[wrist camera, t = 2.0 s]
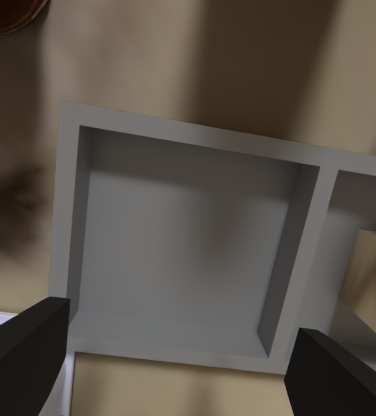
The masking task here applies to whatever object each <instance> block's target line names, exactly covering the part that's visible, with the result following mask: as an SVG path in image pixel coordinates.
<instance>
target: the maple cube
mask: <svg viewBox="0 0 376 416" xmlns="http://www.w3.org/2000/svg"><path fill="white" fill-rule="evenodd" d="M338 298H339V299H340V300H341V301H342V302H343V303H344V304H346V305H347V306H348V307H349V308H350V309H351V310H352V311H353V312H354V313H355V314H356V315H357V316H358V317H359V318H360V319H361V320H362V321H363V322H365V323H366V324H367V325H368V326H369V327H370V328H371V329H372V330H373V331H374V332H375V333H376V232H375V231H368V230H362V229H359V231H358V235H357V238H356V241H355V244H354V247H353V250H352V254H351V257H350V260H349V263H348V266H347V269H346V273H345V276H344V279H343V282H342V285H341V288H340V292H339V295H338Z"/></svg>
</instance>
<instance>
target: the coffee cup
mask: <svg viewBox="0 0 376 416" xmlns="http://www.w3.org/2000/svg"><path fill="white" fill-rule="evenodd" d="M46 2H47V0H0V34H6V33H10V32H13V31H15V30H17V29H20V28H22V27H23V26H25V25H26V24H28V23H29V22H30V21H32V20H33V19H34V18H35V16H36V15H37V14H38V12H39V11H40V10H41V8H42V7H43V6H44V5H45V4H46Z"/></svg>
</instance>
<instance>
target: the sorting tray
mask: <svg viewBox="0 0 376 416" xmlns="http://www.w3.org/2000/svg"><path fill="white" fill-rule="evenodd" d="M359 229H362V230H368V231H375V232H376V156H372V155H367V154H361V153H355V152H350V151H344V150H339V149H333V148H327V147H322V146H316V145H310V144H305V143H299V142H294V141H288V140H282V139H277V138H271V137H265V136H260V135H254V134H249V133H243V132H237V131H232V130H226V129H220V128H215V127H209V126H204V125H198V124H192V123H187V122H181V121H175V120H170V119H164V118H158V117H153V116H147V115H142V114H136V113H130V112H125V111H119V110H113V109H108V108H102V107H97V106H91V105H85V104H80V103H74V102H68V101H63V100H60V108H59V125H58V141H57V157H56V173H55V190H54V206H53V222H52V238H51V255H50V271H49V287H48V297H50V296H52V297H60V298H68V299H71V301H70V313H69V326H68V338H67V351H76V352H85V353H94V354H103V355H112V356H121V357H130V358H139V359H148V360H157V361H166V362H175V363H184V364H193V365H202V366H211V367H220V368H229V369H238V370H247V371H256V372H265V373H274V374H283V375H286V371H287V368H288V364H289V361H290V358H291V354H292V351H293V347H294V344H295V340H296V337H297V333H298V330H299V327H300V328H308V329H316V330H319V331H320V332H322V333H324V334H325V335H327V336H328V337H330V338H331V339H333V340H334V341H335V342H337V343H338V344H340V345H341V346H342V347H344V348H345V349H346V350H348V351H349V352H351V353H352V354H353V355H355V356H356V357H357V358H359V359H360V360H361V361H363V362H364V363H365V364H367V365H368V366H369V367H371V368H372V369H373V370H375V371H376V333H375V332H374V331H373V330H372V329H371V328H370V327H369V326H368V325H367V324H366V323H365V322H363V321H362V320H361V319H360V318H359V317H358V316H357V315H356V314H355V313H354V312H353V311H352V310H351V309H350V308H349V307H348V306H347V305H346V304H344V303H343V302H342V301H341V300H340V299H339V298H338V295H339V292H340V288H341V285H342V282H343V279H344V276H345V273H346V269H347V266H348V263H349V260H350V257H351V254H352V250H353V247H354V244H355V241H356V238H357V235H358V231H359Z"/></svg>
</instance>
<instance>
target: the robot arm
mask: <svg viewBox="0 0 376 416" xmlns="http://www.w3.org/2000/svg"><path fill="white" fill-rule="evenodd" d="M70 301H71V299H68V298H60V297H52V296H50V297H48V298H46V299H44V300H42V301H40V302H39V303H37V304H35V305H33V306H32V307H30V308H28V309H26V310H25V311H23V312H21V313H20V314H16V313H7V312H0V416H70V407H71V396H72V384H73V373H74V362H75V351H67V338H68V326H69V313H70ZM284 383H285V386H286V390H287V394H288V397H289V401H290V404H291V407H292V410H293V413H294V416H376V371H375V370H373V369H372V368H371V367H369V366H368V365H367V364H365V363H364V362H363V361H361V360H360V359H359V358H357V357H356V356H355V355H353V354H352V353H351V352H349V351H348V350H346V349H345V348H344V347H342V346H341V345H340V344H338V343H337V342H335V341H334V340H333V339H331V338H330V337H328V336H327V335H325V334H324V333H322V332H320V331H319V330H316V329H308V328H300V327H299V330H298V333H297V337H296V340H295V344H294V347H293V351H292V354H291V358H290V361H289V364H288V368H287V371H286V375H285V378H284Z"/></svg>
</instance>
